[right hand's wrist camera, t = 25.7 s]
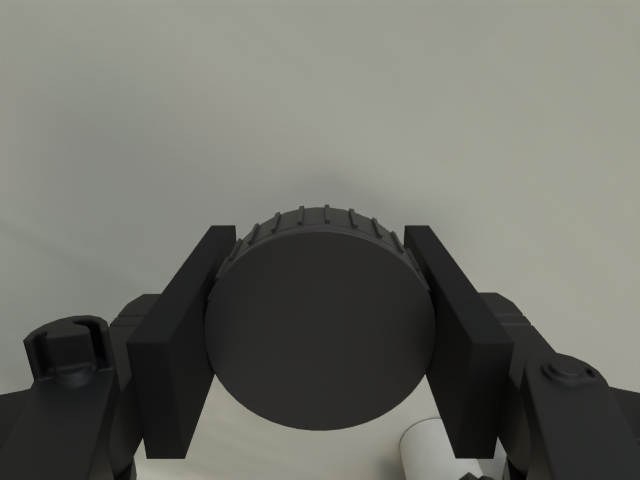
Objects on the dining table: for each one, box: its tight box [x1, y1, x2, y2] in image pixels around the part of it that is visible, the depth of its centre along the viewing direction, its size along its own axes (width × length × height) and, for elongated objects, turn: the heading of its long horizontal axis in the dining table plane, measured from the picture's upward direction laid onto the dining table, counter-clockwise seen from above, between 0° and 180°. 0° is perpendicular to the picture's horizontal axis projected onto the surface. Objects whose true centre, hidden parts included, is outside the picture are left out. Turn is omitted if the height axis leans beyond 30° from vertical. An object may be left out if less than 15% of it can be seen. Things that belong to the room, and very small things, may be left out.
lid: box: [204, 205, 437, 431], centre depth 11 cm, size 6×6×2 cm
